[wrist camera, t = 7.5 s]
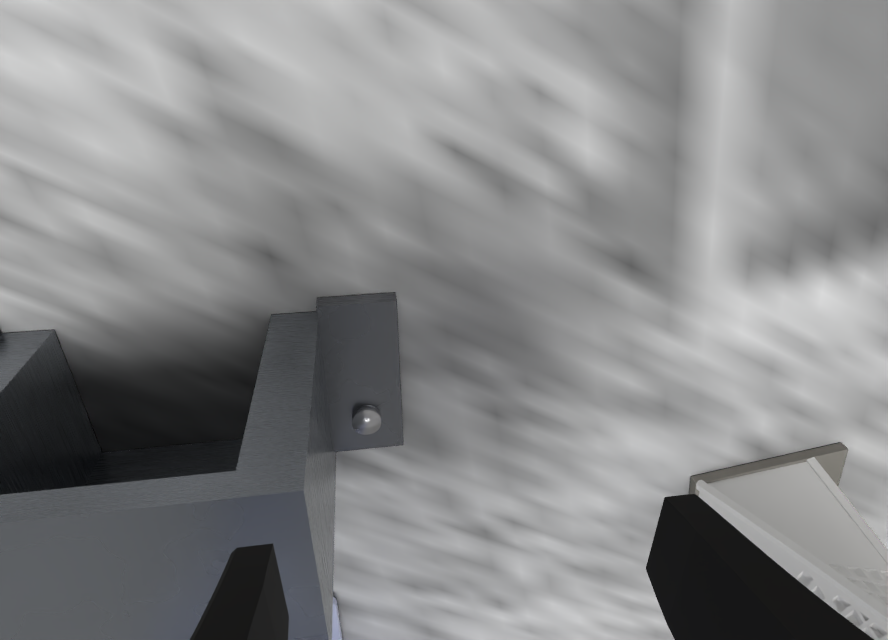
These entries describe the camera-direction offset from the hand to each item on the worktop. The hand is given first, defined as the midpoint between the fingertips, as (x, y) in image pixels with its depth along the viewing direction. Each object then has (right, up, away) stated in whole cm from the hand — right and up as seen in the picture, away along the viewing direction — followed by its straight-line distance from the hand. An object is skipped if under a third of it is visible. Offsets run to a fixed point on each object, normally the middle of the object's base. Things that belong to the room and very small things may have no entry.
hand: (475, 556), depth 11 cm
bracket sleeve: (-9, +2, +9) cm, 13 cm away
